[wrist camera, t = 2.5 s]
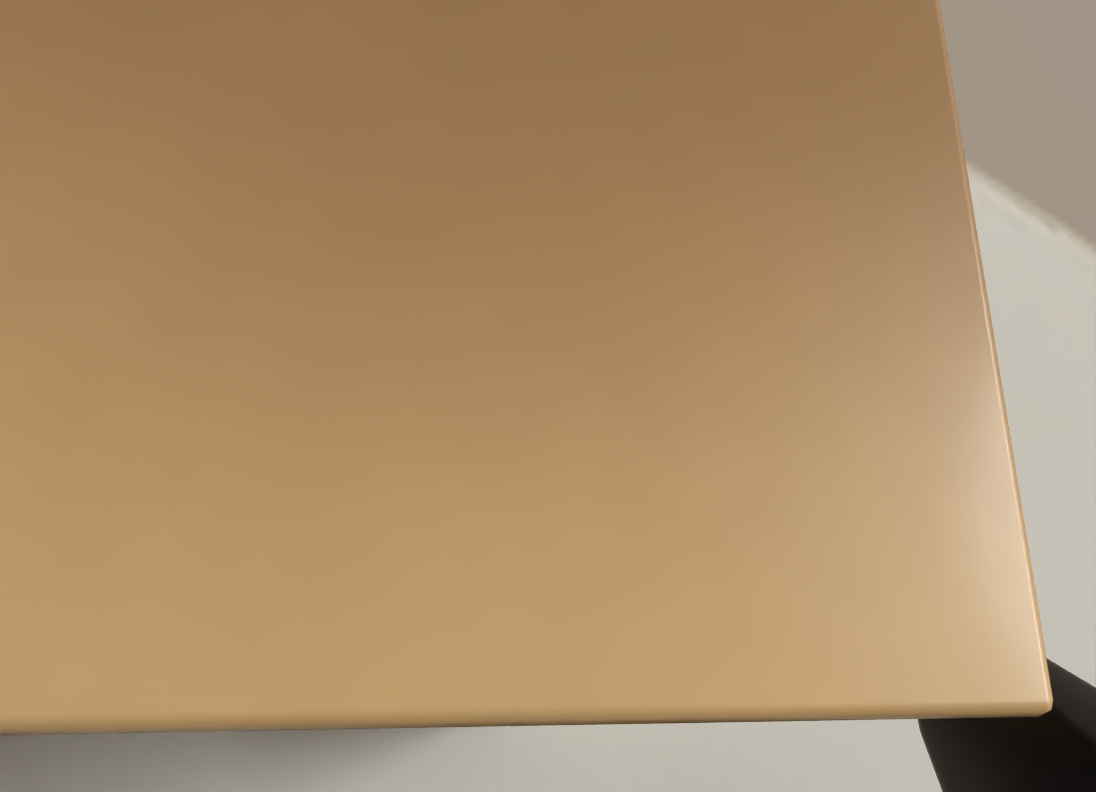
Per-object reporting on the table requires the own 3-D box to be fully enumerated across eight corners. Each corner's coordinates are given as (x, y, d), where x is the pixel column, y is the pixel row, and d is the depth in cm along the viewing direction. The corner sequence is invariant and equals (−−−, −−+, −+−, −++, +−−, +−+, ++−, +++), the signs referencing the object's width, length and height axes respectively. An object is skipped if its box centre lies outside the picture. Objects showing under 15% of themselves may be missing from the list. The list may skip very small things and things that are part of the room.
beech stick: (503, 706, 16) (1063, 716, 4) (220, 710, 15) (-200, 737, 3) (504, 444, 17) (920, -151, 5) (244, 433, 16) (24, -325, 4)
